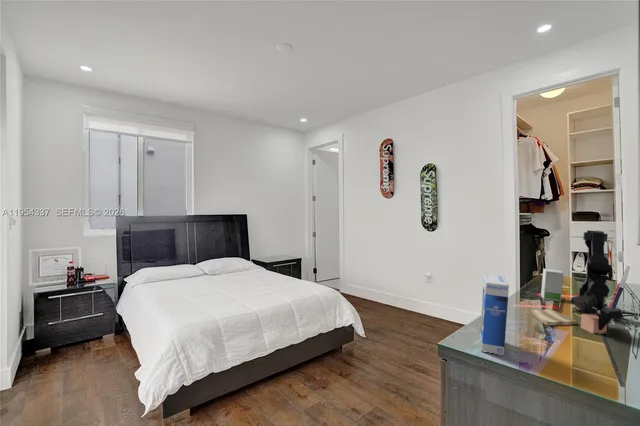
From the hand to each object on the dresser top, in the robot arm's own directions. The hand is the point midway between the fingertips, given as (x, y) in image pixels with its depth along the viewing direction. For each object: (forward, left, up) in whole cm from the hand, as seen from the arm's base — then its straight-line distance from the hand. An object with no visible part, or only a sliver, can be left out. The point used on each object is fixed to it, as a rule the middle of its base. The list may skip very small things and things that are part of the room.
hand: (593, 326), depth 143 cm
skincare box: (-13, -39, -2) cm, 41 cm away
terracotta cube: (0, 0, -2) cm, 2 cm away
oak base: (+9, -13, -2) cm, 16 cm away
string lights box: (+52, +11, -2) cm, 53 cm away
